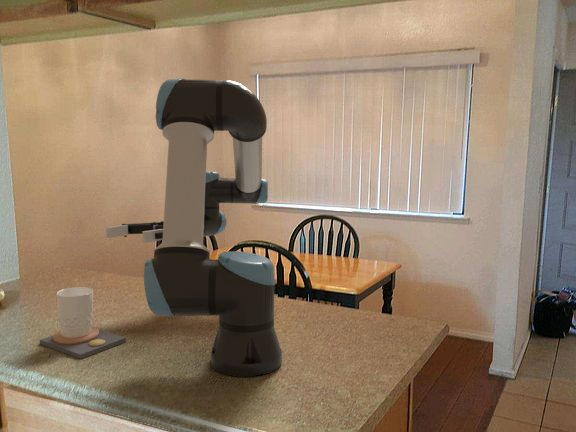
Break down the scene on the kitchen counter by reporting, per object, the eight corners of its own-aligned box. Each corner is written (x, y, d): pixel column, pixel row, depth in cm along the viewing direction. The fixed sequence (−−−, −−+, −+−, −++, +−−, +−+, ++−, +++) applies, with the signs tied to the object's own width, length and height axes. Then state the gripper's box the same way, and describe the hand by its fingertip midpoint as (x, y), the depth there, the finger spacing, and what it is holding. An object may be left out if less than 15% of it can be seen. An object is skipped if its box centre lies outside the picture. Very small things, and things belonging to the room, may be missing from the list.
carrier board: (125, 341, 120) (125, 334, 120) (80, 359, 110) (80, 351, 110) (85, 329, 128) (85, 322, 128) (39, 343, 118) (39, 336, 118)
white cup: (97, 326, 125) (96, 286, 124) (90, 338, 117) (88, 295, 116) (63, 327, 124) (61, 287, 122) (53, 340, 116) (51, 296, 115)
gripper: (217, 243, 141) (160, 254, 123) (153, 235, 154) (93, 244, 136) (217, 216, 140) (160, 223, 122) (153, 211, 153) (92, 216, 136)
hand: (124, 234), depth 129 cm, fingers open, 13 cm apart
